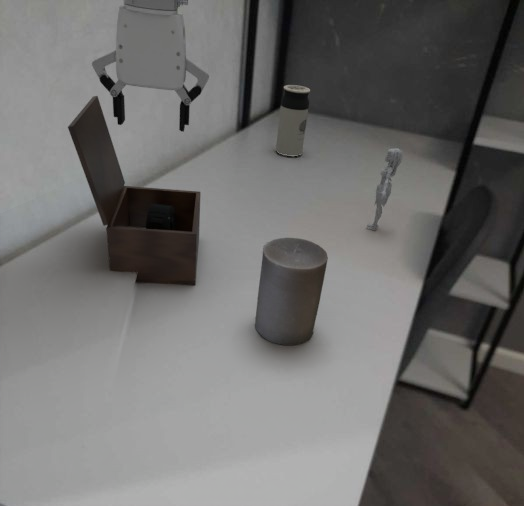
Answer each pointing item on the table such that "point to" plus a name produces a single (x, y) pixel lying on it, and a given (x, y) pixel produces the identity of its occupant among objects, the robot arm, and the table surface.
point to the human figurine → (386, 183)
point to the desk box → (155, 236)
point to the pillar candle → (289, 290)
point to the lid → (97, 158)
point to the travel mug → (292, 120)
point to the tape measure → (160, 217)
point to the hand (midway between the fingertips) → (152, 125)
